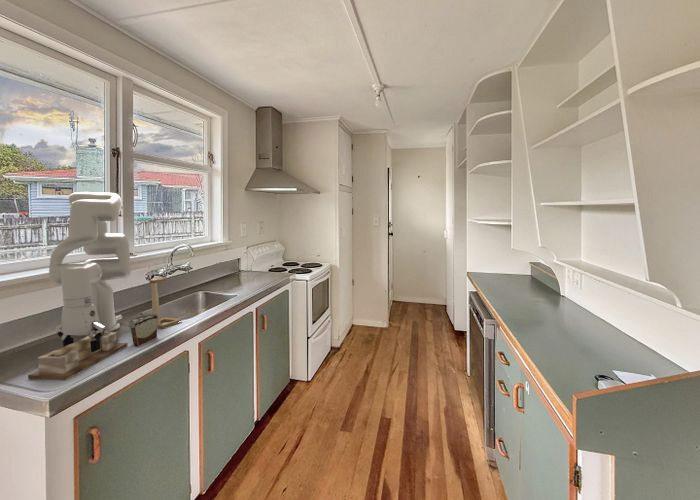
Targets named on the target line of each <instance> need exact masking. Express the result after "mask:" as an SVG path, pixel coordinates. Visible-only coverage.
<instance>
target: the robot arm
mask: <svg viewBox="0 0 700 500" xmlns="http://www.w3.org/2000/svg"><path fill="white" fill-rule="evenodd" d="M68 202H69V205H70V211H69V225H68V235H67V237H66V238H65V239H63V240H62V241H61V242H59V243H58V244H57V245H56V246H55V248H54V249H53V250H52V252H51V255H50V258H49V269H48V276H49V281H50V282H51V283H52V284H54V285H57V286H61V290H62V300H63V301H62V302H63V307H62V311H61V323H60V324H58V325H57V326H54V330H55V331H56V333H57V335H58V336H59V338H60V340H61V341H62V345H63V347H65V346H67V345H70V344H72V343H74V338H73V337H72V336H79V337H80V336H81V337H82V336H84V337H87V336H89V337H90V338H91V340H92V341H91V342H90V344H91V352H95V351H97V350H99V349H100V338H101V337H102V335H103V334H104V332H115V330H118V329H120V327H121V325H120V323H118V321H119V320H121V319H123V315H121V314H119V315H115V312H116V311H115V304H114V303H115V301H114V292H113V291H114V290H113V288H112V286H111V285H110V284H109V283H108V282H107V281H112V280H122V279H127V278H129V277H130V276H131V255H130V252H131V251H130V243H129V239H128V237H127V235H126V234H124V233H118V232H117V233H116V232H114V233H109V232H108V225H107V224H108V223H107V222H115V221H117V219H118V218H119V215H120V214H121V213H120V212H121V210H122V206H123V205H122V204H123V203H122V198H121V196H120V195H119V194H118V193H114V192H93V191H92V192H90V191H79V192H73V193H71V194H69V197H68ZM80 248H83V250H84V253H85V254H86V255H89V256H93V257H94V256H96V257H97V256H98V257H99V256H116V257H111V258H110V257H106V258H105V257H103V258H92V259H87V260H84V261H83V262H69V263H68V262H67V263H63V261H64V259H65V258H66V256H67V255H68V254H70V253H71V252H73V251H75V250H78V249H80ZM93 334H94V335H95V336H94V335H93ZM63 347H62V348H63Z"/></svg>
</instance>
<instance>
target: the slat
mask: <svg viewBox="0 0 700 500" xmlns="http://www.w3.org/2000/svg"><path fill="white" fill-rule="evenodd" d="M93 335H94V334H93ZM105 335H106V334H105V332H104V334H103V335H102V337H103V336H105ZM87 336H88V335H87ZM87 336H85V337H84V338H81V339H78V340H77V341H75V342H74V341H73V343H72V344H70V345H67V346H65V347H61V348H57V350H53V351H54V352H53V353H54V357H60V356H62V355H64V354H66V353H68V352H71V351H78V360H79V361H80V360H82V359H84V358H86V357H88V356H90V355H92V354H94V353H96V352H98V351H100V350H102V339H101V338H100V349H99V350H97V351H95V352H91V344H90V342H91V341H92V340H91V338H90V337H89V336H88V337H87ZM94 336H95V335H94Z"/></svg>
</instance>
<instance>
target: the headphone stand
mask: <svg viewBox="0 0 700 500" xmlns="http://www.w3.org/2000/svg"><path fill="white" fill-rule="evenodd" d="M148 281H149V284H151V287H150V288H151V307H152V309H151V310H152V311H151V312H152V313H151V314H158V317H159V318H158V321H157V330H163V329H166V328H169V327H171V326H174V324H175V325H177V324H176V323H178V322H179V321H181V322H182V319H181V318H174V317H173V318H172V317H162V318H161V313H160V301H159V300H160V299H159V291H158V290H159V289H158V283H162V282H165V281H166V277H163V276H162V277H159V278H155V279H154V278H153V279H149V280H148ZM164 322H166V323H164ZM178 324H179V323H178Z"/></svg>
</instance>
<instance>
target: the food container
mask: <svg viewBox="0 0 700 500" xmlns="http://www.w3.org/2000/svg"><path fill="white" fill-rule="evenodd" d="M158 318H159V317H158V314H153V313H146V314H141V315H137V316H134V317H131V318H130V319H129V321H128V324H127V326H128V328H130V332H131V337H132V344H133V346H134V347H137V348H139V347H141V346H144V345H145V343H146V344H147V343H149V342H152V341H154V340H156V339H158V329H157V321H158Z"/></svg>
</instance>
